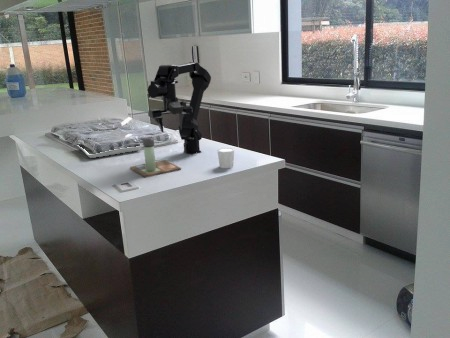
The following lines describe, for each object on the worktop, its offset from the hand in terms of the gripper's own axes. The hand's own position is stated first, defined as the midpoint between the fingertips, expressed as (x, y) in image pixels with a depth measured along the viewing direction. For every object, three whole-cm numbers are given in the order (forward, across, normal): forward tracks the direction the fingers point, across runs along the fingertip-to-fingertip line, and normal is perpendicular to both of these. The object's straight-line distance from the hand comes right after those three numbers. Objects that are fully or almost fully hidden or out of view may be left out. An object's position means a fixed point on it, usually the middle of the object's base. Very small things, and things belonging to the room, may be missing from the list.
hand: (172, 130), depth 189 cm
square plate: (+14, -18, +38) cm, 44 cm away
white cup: (+13, +12, -25) cm, 31 cm away
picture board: (+13, -13, -9) cm, 20 cm away
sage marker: (+12, -16, -12) cm, 23 cm away
